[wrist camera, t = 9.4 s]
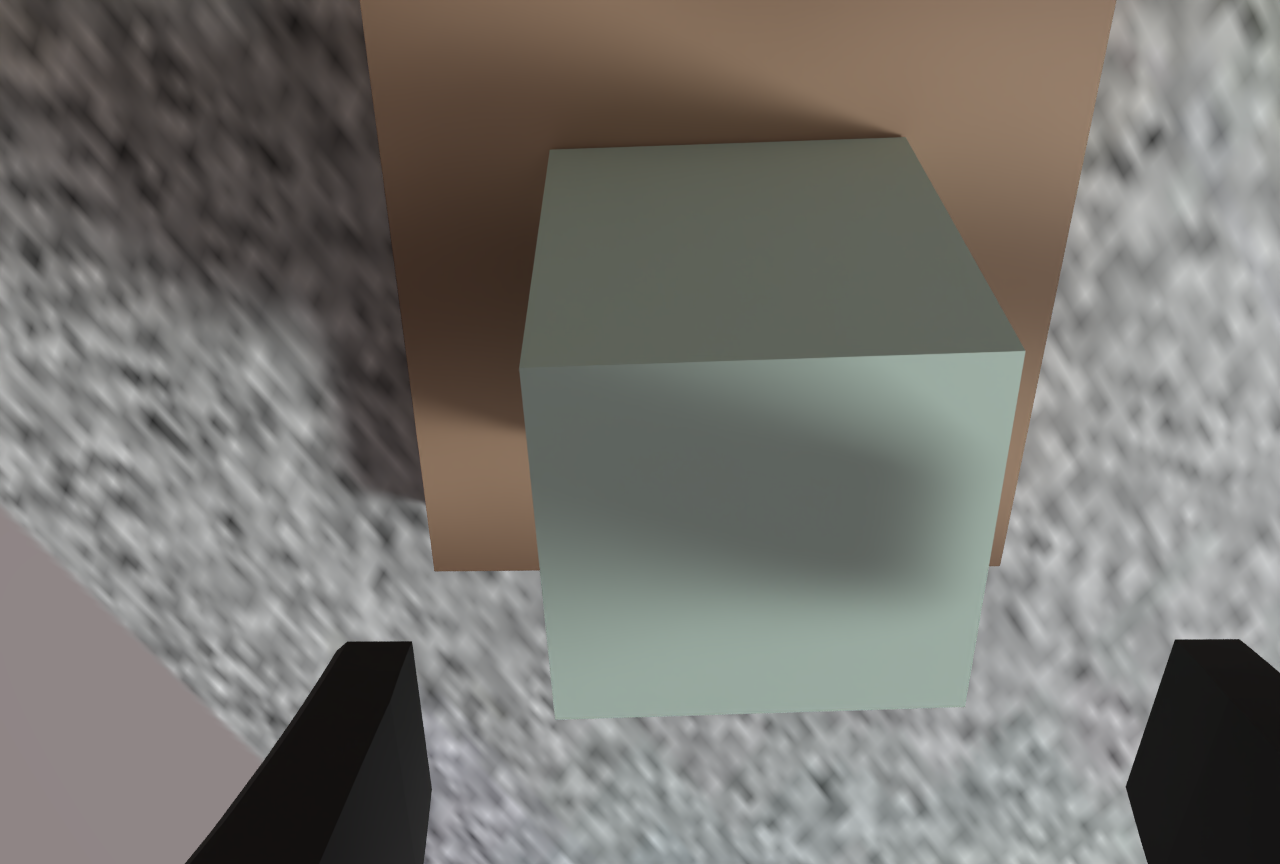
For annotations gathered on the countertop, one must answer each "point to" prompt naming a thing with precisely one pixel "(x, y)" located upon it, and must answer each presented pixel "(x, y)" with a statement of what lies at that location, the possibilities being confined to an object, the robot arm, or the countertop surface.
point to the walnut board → (687, 115)
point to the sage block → (760, 430)
